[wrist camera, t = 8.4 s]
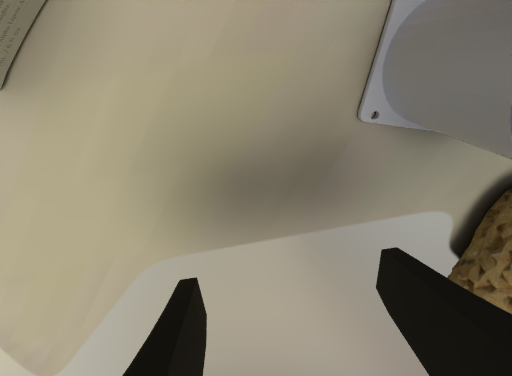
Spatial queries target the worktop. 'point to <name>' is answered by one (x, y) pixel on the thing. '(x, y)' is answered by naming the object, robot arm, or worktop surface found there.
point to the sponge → (490, 257)
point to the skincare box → (14, 28)
